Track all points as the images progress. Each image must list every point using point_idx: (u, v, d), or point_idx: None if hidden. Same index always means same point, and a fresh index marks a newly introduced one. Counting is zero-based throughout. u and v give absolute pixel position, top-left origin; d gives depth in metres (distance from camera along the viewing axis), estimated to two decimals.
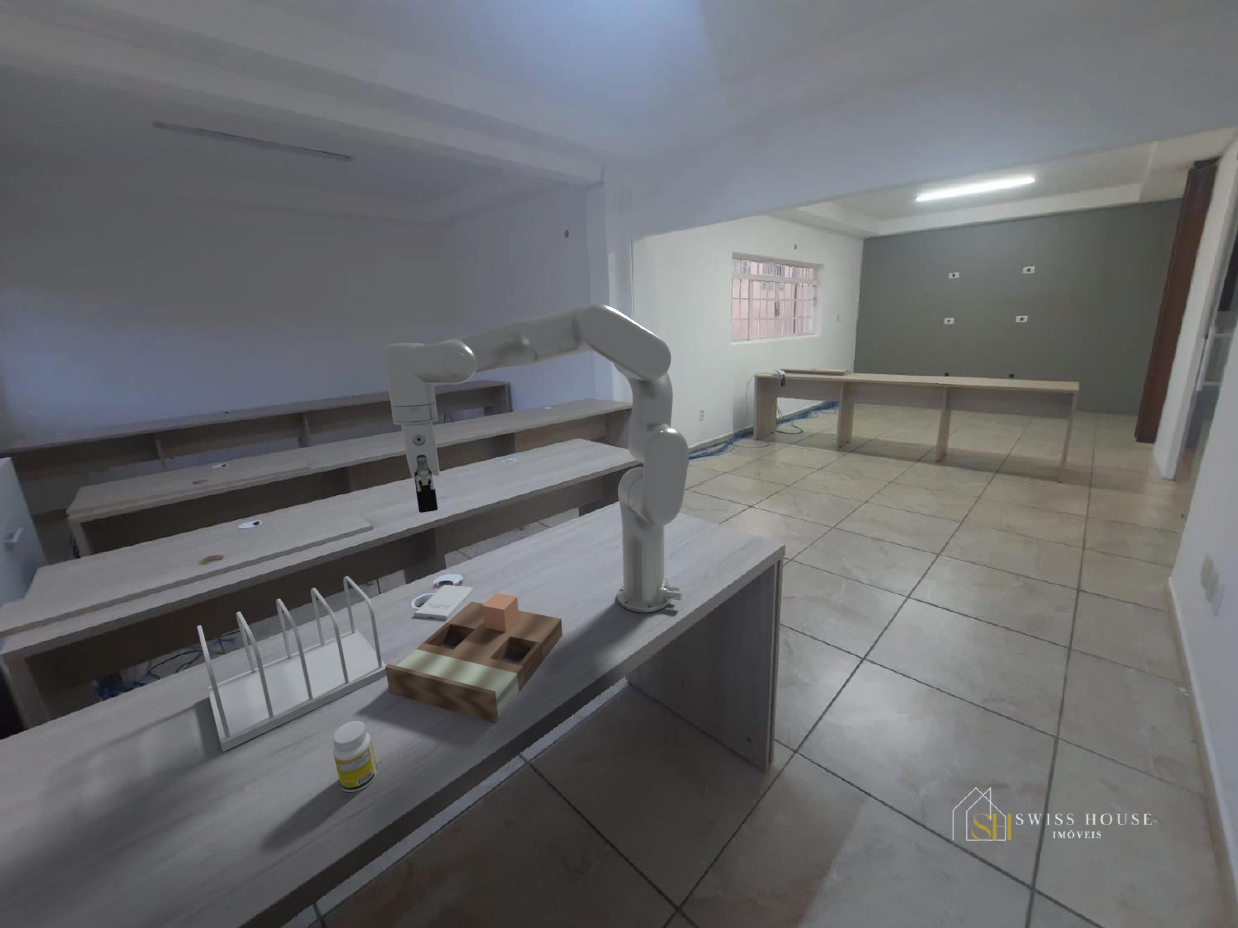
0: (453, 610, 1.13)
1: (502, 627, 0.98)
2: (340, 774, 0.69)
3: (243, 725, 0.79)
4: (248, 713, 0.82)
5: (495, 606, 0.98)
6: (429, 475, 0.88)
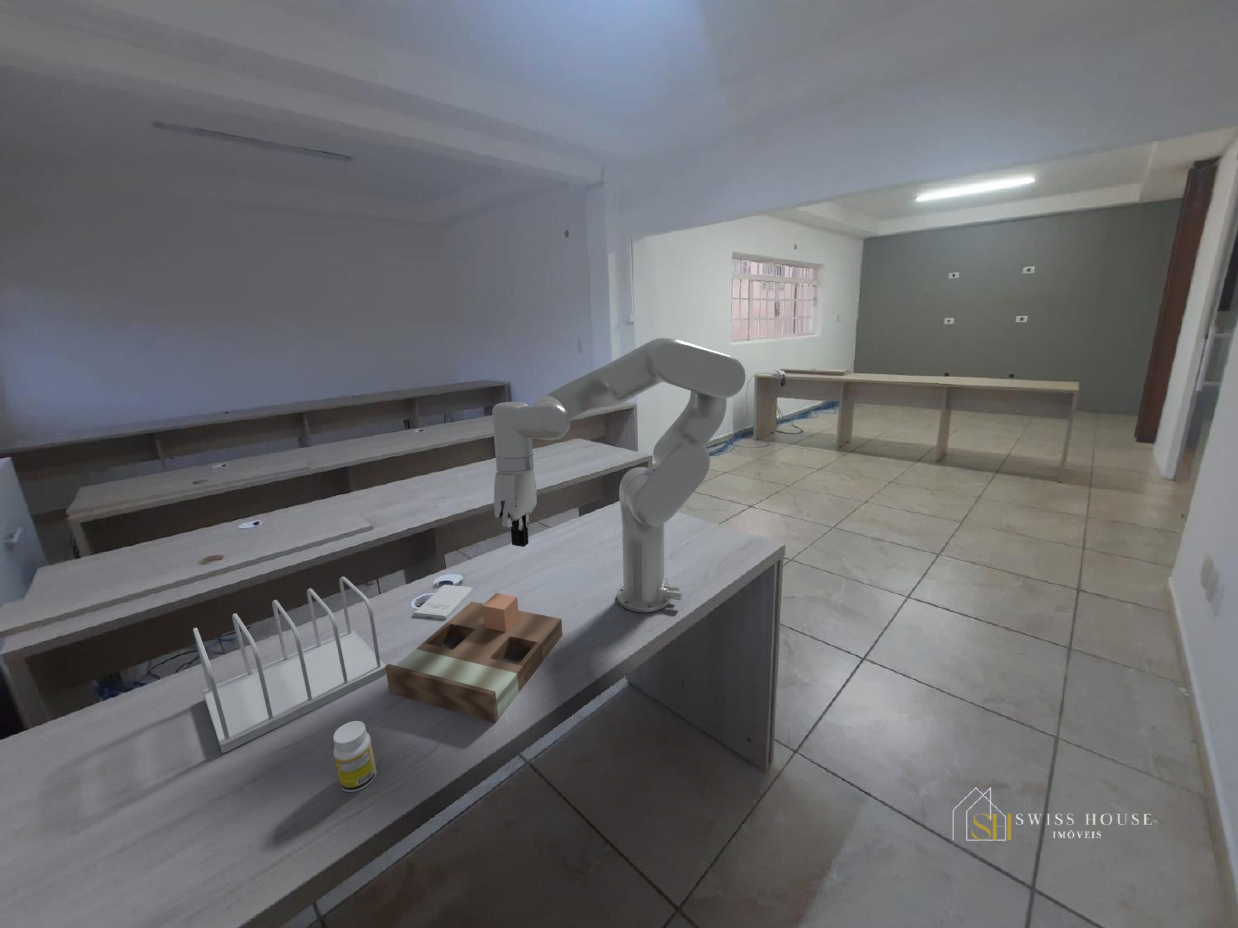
0: (452, 610, 1.13)
1: (502, 627, 0.98)
2: (340, 774, 0.69)
3: (243, 727, 0.79)
4: (247, 714, 0.82)
5: (495, 606, 0.98)
6: None
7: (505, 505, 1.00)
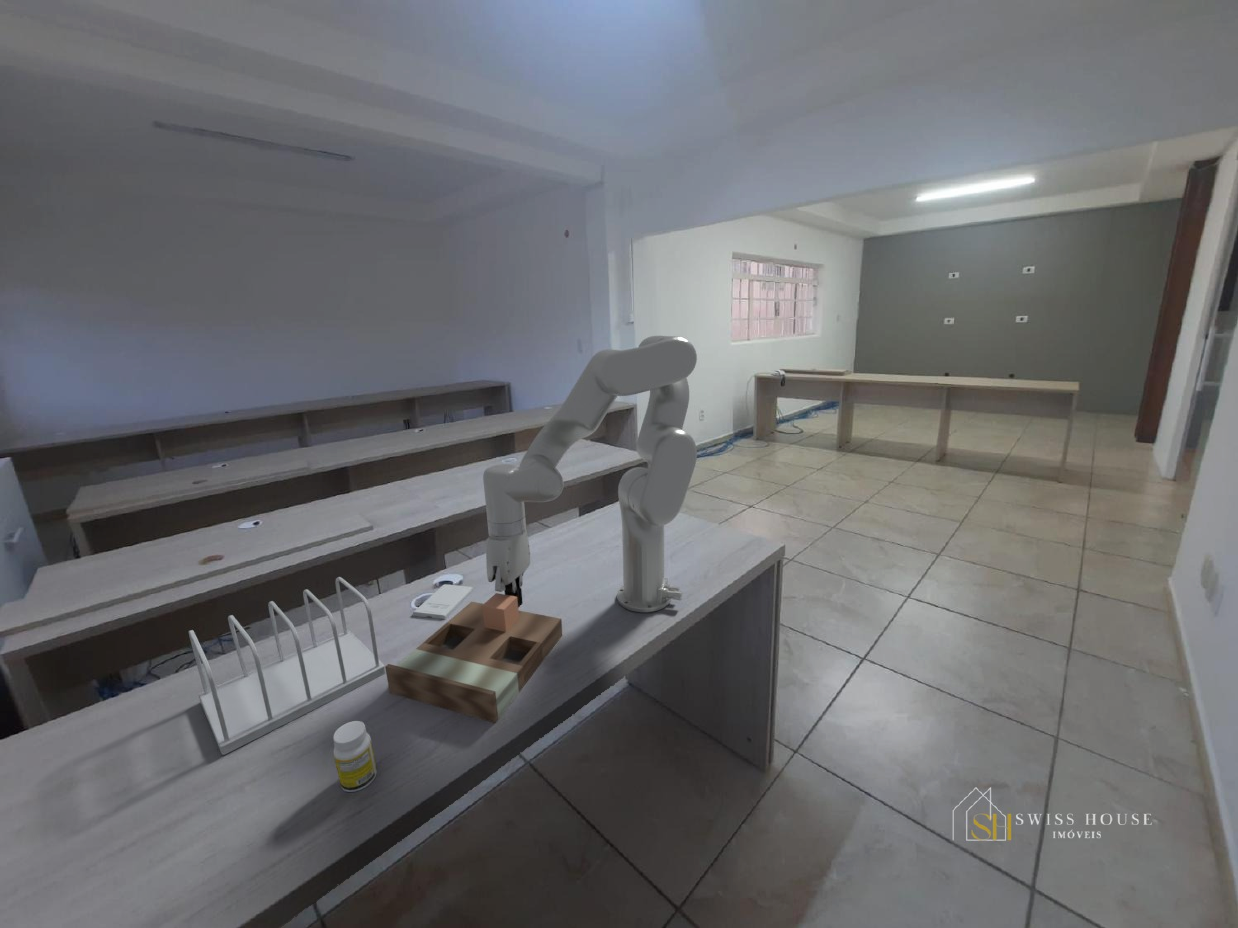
0: (452, 610, 1.13)
1: (502, 627, 0.98)
2: (340, 774, 0.69)
3: (242, 728, 0.79)
4: (245, 716, 0.81)
5: (494, 606, 0.98)
6: None
7: (498, 569, 0.99)
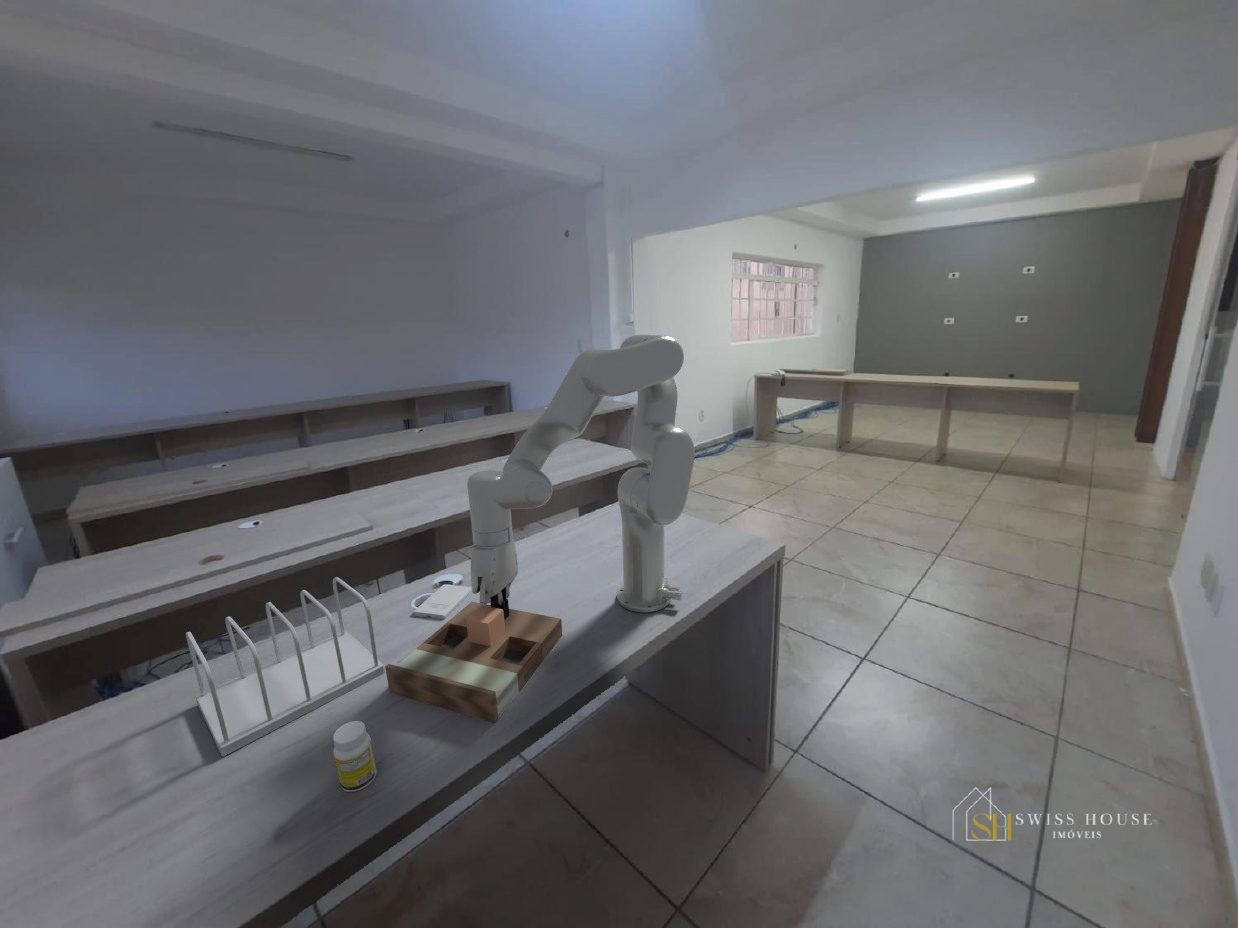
0: (451, 610, 1.13)
1: (487, 642, 0.94)
2: (340, 774, 0.69)
3: (242, 729, 0.79)
4: (245, 717, 0.81)
5: (479, 619, 0.94)
6: None
7: (482, 581, 0.94)
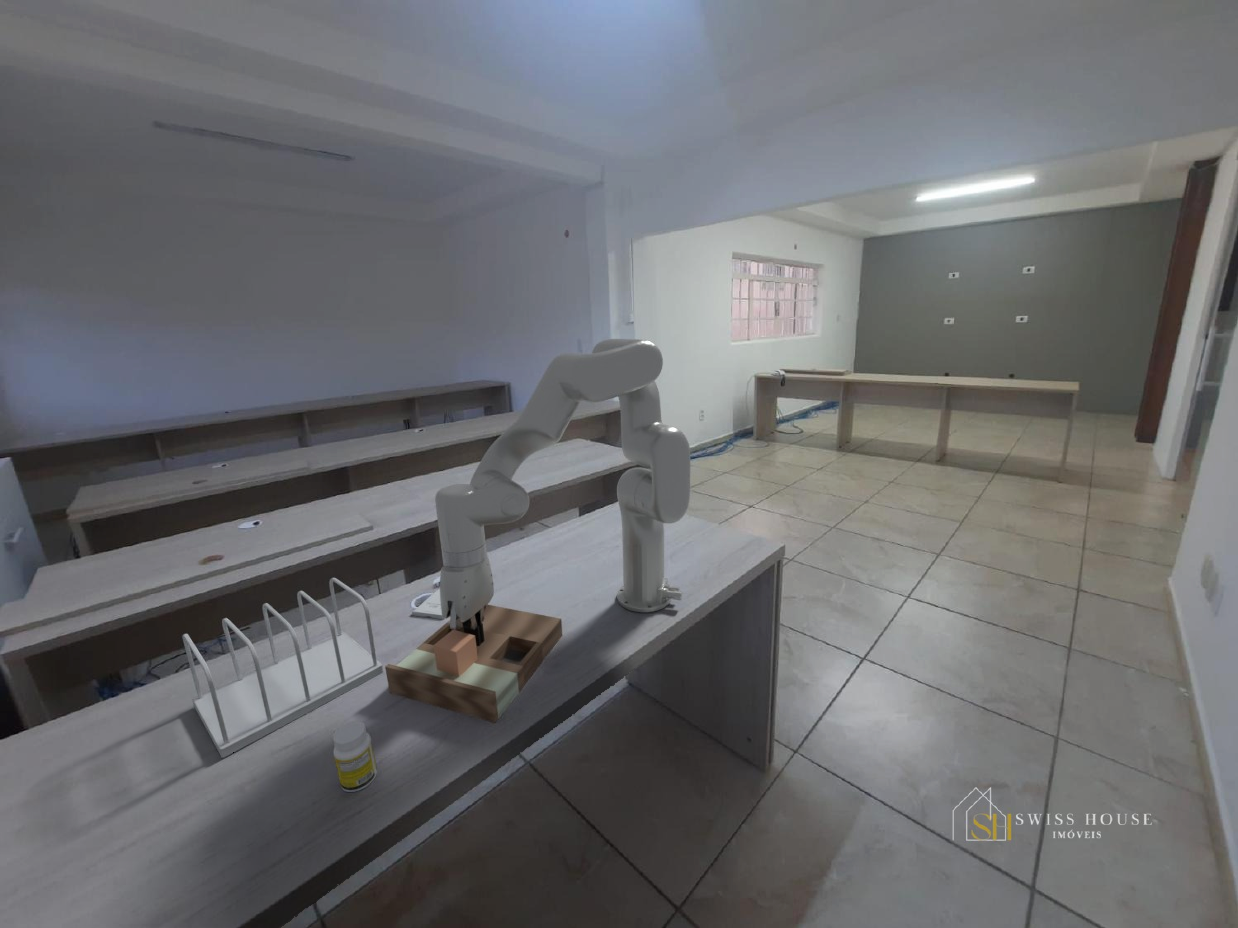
0: None
1: (455, 671, 0.86)
2: (340, 774, 0.69)
3: (241, 730, 0.78)
4: (244, 718, 0.81)
5: (447, 647, 0.86)
6: None
7: (453, 605, 0.86)
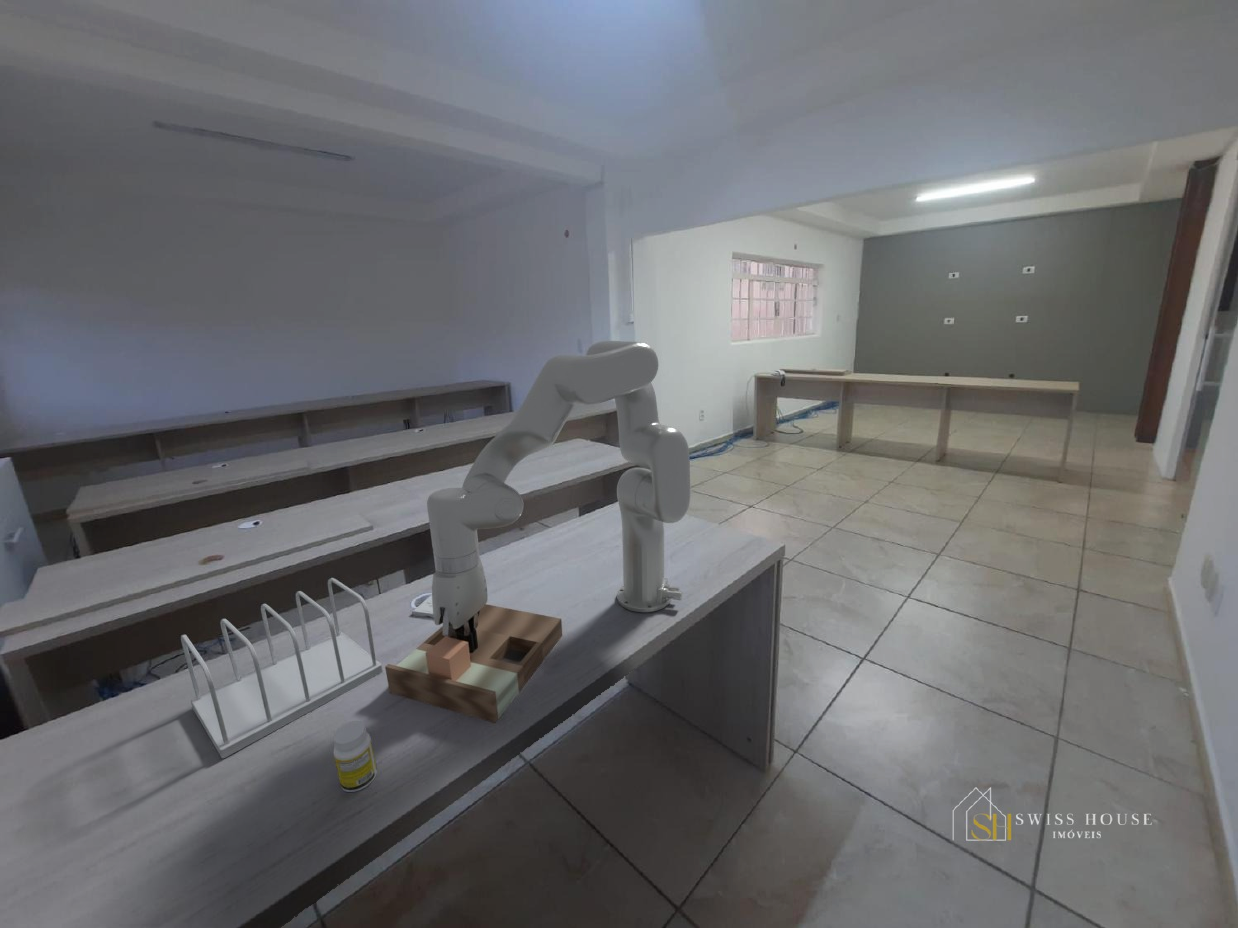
0: None
1: None
2: (340, 774, 0.69)
3: (241, 731, 0.78)
4: (243, 719, 0.81)
5: (439, 654, 0.84)
6: None
7: (445, 611, 0.85)
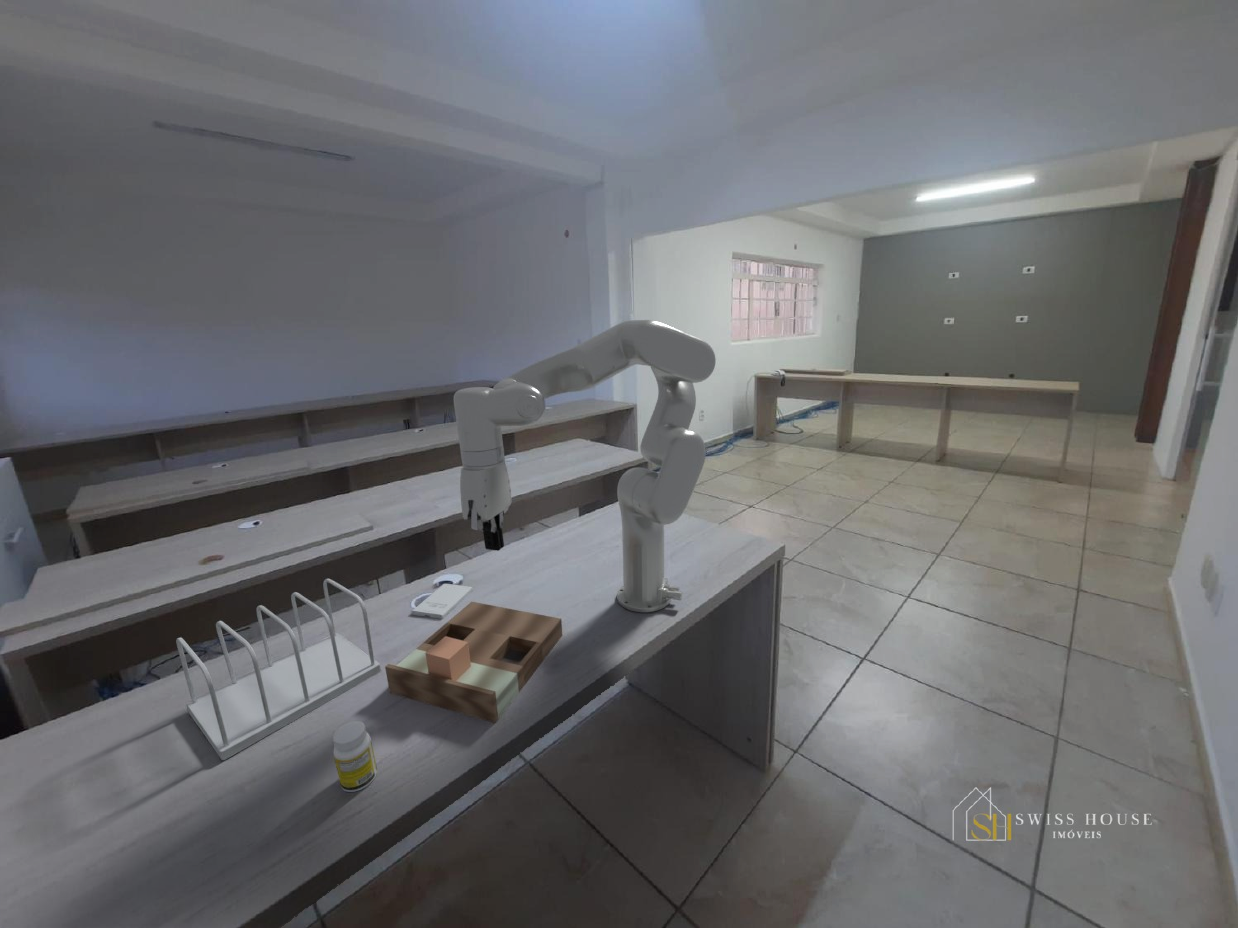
0: (449, 609, 1.13)
1: None
2: (340, 774, 0.69)
3: (241, 733, 0.78)
4: (242, 721, 0.80)
5: (439, 654, 0.84)
6: None
7: (473, 505, 0.88)
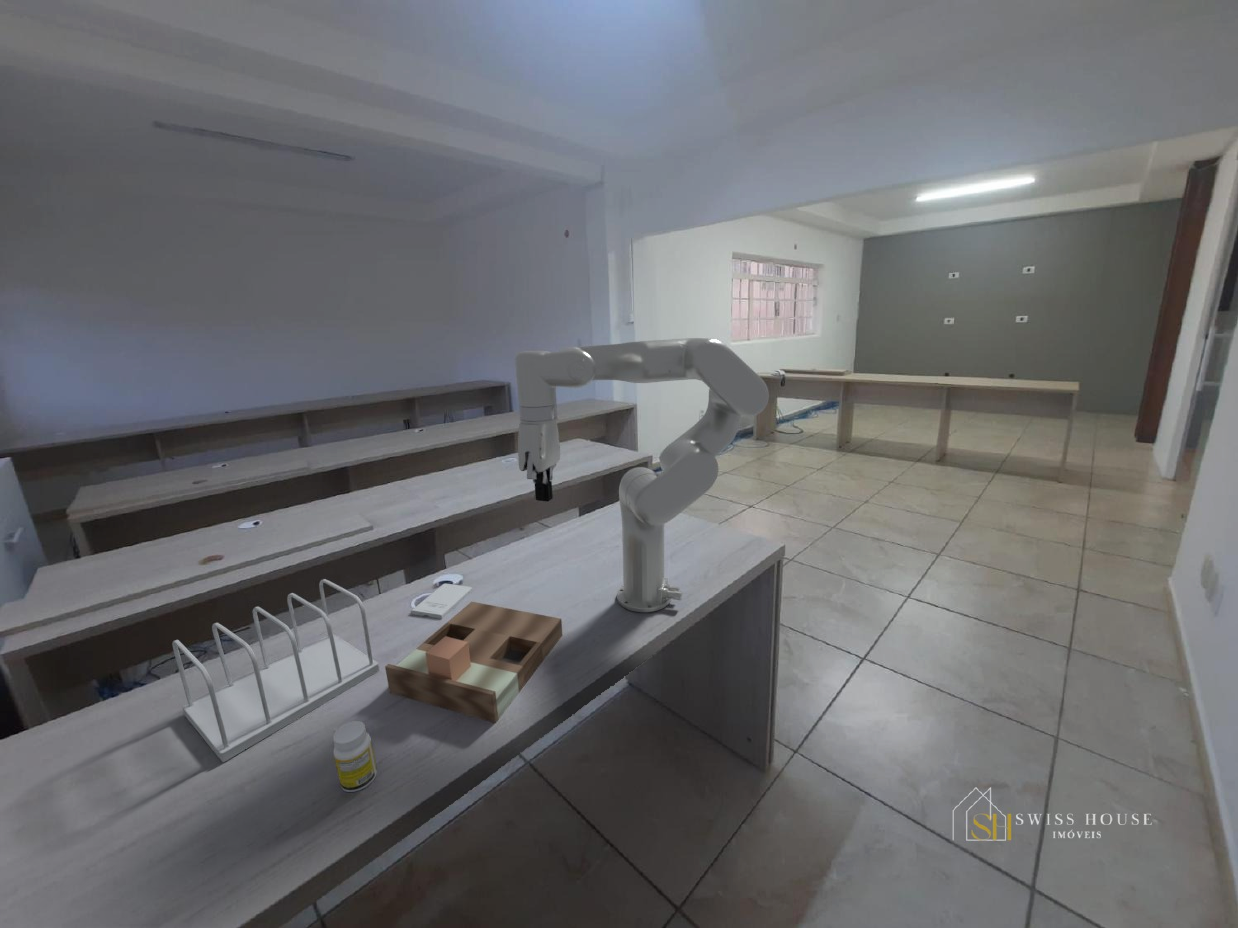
0: (449, 609, 1.13)
1: None
2: (340, 774, 0.69)
3: (240, 734, 0.78)
4: (241, 722, 0.80)
5: (439, 654, 0.84)
6: None
7: (529, 456, 0.98)
